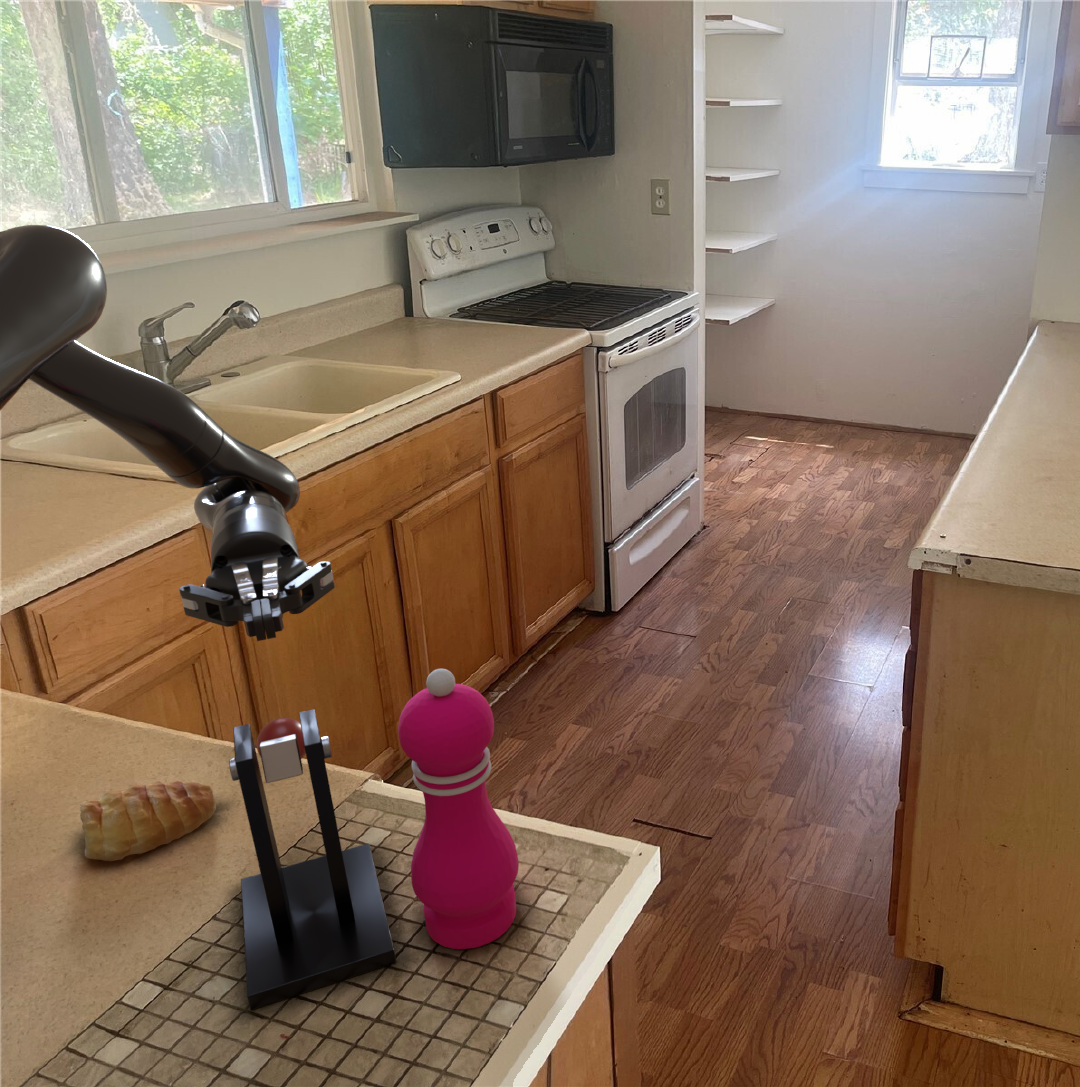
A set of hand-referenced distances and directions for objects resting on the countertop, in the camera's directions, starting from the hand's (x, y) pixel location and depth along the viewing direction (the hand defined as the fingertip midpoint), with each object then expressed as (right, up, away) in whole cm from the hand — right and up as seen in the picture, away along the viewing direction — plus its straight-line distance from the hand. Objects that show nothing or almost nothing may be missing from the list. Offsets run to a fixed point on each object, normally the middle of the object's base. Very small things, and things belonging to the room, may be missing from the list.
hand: (265, 629), depth 83 cm
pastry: (-9, -16, -2) cm, 19 cm away
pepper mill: (+20, -20, -11) cm, 30 cm away
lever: (+7, -9, -12) cm, 17 cm away
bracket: (+9, -20, -11) cm, 24 cm away
